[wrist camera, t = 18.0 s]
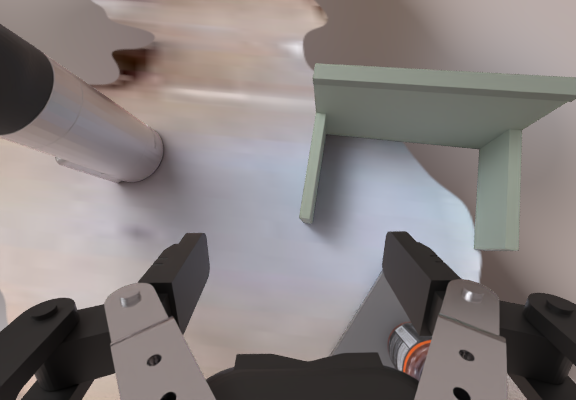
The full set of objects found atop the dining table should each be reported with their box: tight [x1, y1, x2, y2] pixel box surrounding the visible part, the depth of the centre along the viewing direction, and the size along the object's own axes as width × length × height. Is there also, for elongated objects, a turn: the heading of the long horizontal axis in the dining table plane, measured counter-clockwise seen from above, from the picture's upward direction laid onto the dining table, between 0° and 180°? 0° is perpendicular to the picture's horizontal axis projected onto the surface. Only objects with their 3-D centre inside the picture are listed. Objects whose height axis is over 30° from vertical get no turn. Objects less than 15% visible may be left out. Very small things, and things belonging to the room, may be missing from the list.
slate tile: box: [330, 270, 411, 369], centre depth 32 cm, size 14×14×1 cm
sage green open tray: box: [299, 64, 576, 251], centre depth 30 cm, size 14×22×13 cm, turn 80°
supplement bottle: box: [387, 322, 432, 381], centre depth 26 cm, size 6×6×11 cm
